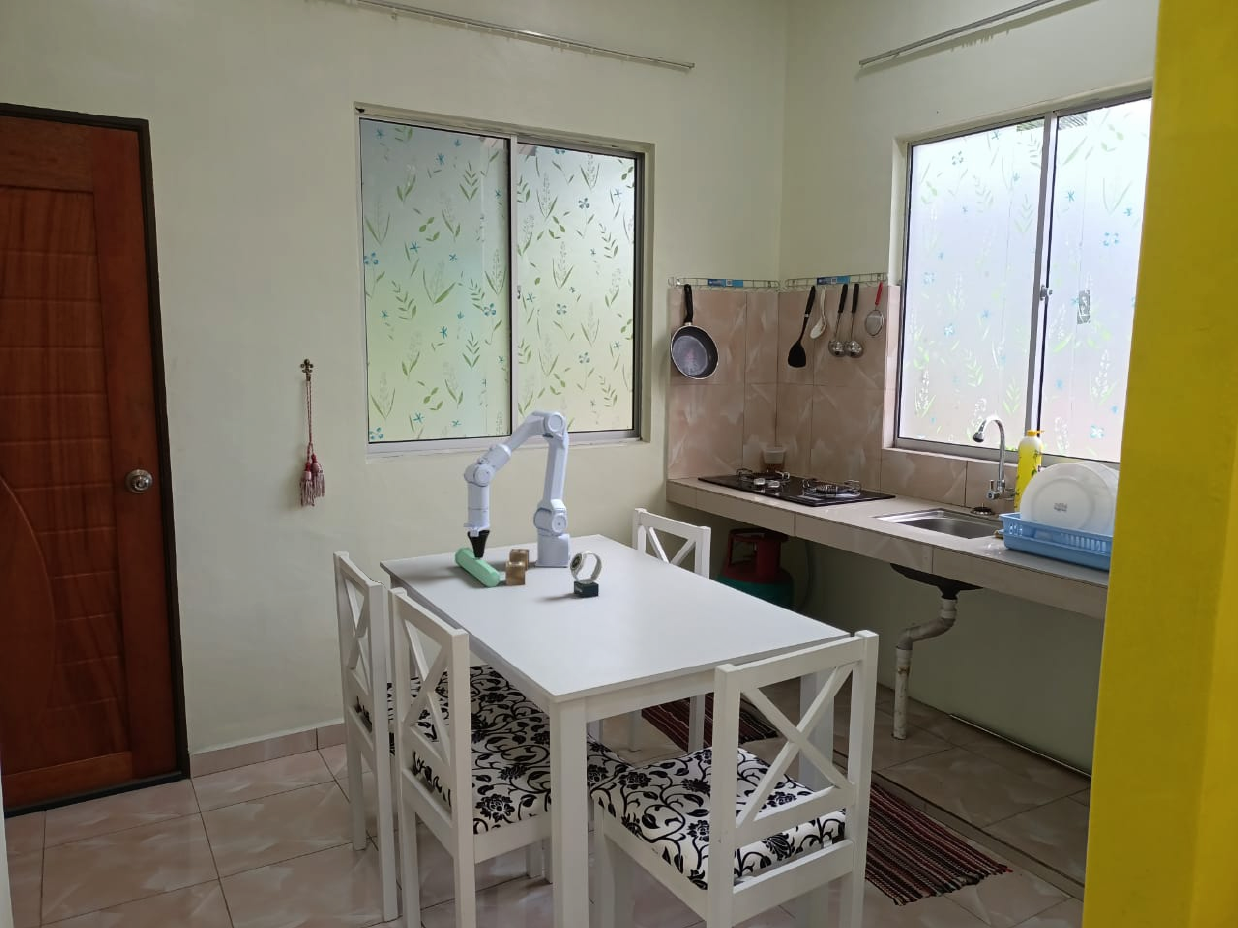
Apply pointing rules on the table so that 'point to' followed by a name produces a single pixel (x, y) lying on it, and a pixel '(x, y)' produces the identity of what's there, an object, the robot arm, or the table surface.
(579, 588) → the watch
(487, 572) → the container
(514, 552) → the labelled block
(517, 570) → the labelled block
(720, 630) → the table surface
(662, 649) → the table surface
